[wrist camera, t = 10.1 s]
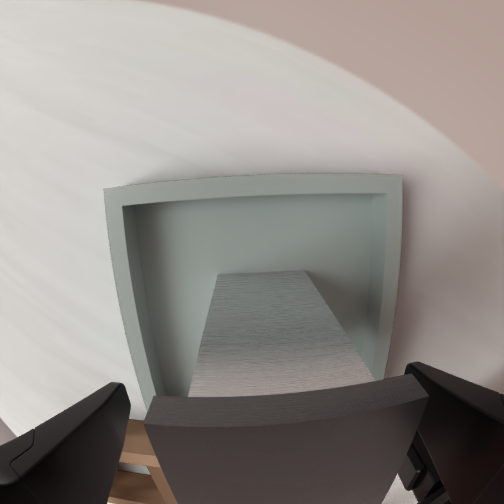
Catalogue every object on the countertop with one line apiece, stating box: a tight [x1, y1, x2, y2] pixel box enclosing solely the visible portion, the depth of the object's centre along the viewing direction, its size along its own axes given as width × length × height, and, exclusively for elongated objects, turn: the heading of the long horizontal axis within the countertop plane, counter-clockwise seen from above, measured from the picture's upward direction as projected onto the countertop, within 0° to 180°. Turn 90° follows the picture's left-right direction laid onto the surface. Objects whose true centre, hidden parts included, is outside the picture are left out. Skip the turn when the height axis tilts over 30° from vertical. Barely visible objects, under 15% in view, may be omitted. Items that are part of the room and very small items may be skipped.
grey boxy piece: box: [143, 270, 429, 504], centre depth 10 cm, size 5×5×10 cm
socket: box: [108, 420, 178, 504], centre depth 16 cm, size 8×8×3 cm
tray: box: [104, 173, 403, 412], centre depth 14 cm, size 13×13×2 cm
